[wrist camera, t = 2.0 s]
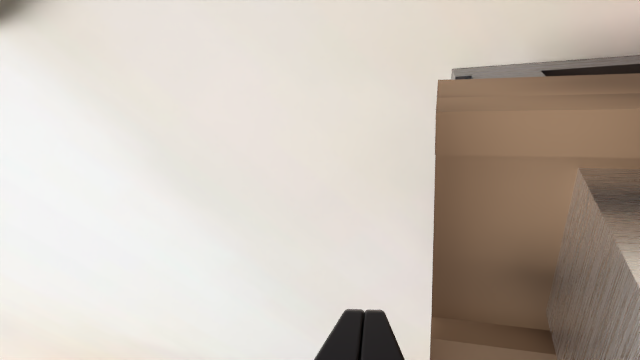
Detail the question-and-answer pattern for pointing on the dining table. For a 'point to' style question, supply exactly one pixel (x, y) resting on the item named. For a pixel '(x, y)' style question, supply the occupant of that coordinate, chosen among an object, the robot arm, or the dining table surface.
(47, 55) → the dining table surface
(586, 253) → the rider
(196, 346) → the dining table surface
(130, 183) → the dining table surface
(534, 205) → the beam
